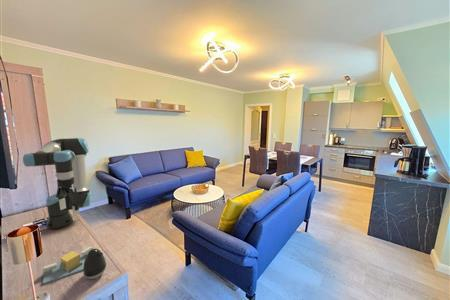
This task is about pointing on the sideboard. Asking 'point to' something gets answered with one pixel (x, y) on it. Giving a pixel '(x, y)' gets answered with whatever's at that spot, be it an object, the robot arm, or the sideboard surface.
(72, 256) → the coupler
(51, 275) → the shaft rig
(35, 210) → the sideboard surface
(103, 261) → the dark grey dome
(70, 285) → the sideboard surface
